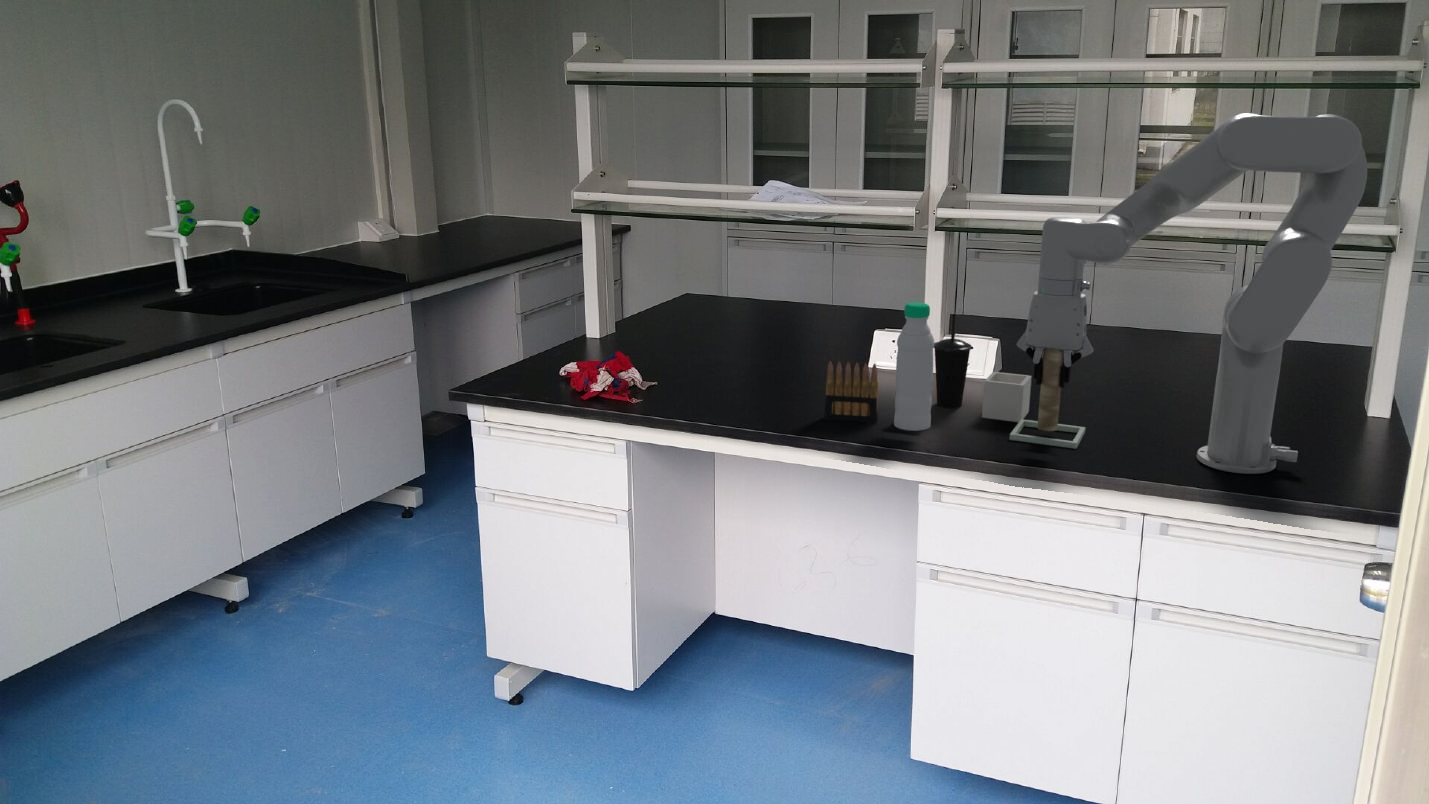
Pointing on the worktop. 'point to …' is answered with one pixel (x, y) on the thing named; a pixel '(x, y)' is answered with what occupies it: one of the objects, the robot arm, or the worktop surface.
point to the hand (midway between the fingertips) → (1051, 383)
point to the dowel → (1050, 389)
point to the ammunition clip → (851, 395)
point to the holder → (1006, 396)
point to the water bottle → (914, 370)
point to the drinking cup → (951, 369)
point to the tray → (1047, 441)
